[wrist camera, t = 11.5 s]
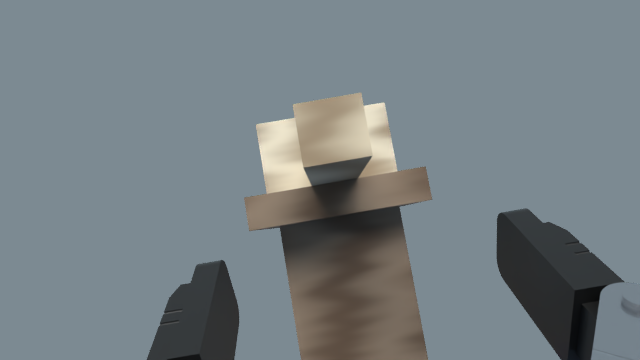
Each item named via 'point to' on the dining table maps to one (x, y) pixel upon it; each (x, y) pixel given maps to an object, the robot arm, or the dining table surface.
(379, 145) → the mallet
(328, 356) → the stand
